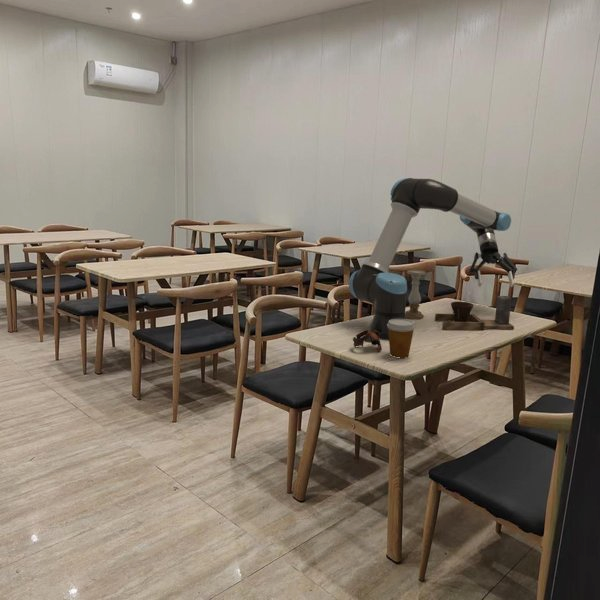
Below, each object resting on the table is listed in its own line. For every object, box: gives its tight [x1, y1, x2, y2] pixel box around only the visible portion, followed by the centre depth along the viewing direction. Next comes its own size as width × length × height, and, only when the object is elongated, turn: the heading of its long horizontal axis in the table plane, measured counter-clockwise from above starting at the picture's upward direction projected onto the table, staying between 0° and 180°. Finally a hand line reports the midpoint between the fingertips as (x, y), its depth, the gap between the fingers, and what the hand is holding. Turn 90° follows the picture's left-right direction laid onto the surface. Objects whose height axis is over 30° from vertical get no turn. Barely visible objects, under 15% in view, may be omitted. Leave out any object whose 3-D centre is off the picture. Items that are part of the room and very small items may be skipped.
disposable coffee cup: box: [387, 318, 416, 359], centre depth 185 cm, size 10×10×12 cm
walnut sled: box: [434, 295, 515, 331], centre depth 224 cm, size 29×14×12 cm, turn 89°
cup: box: [450, 301, 474, 322], centre depth 224 cm, size 9×9×10 cm
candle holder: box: [405, 269, 426, 320], centre depth 236 cm, size 9×9×20 cm
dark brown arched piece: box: [352, 329, 383, 352], centre depth 193 cm, size 12×10×8 cm
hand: (496, 285), depth 232 cm, fingers open, 13 cm apart
